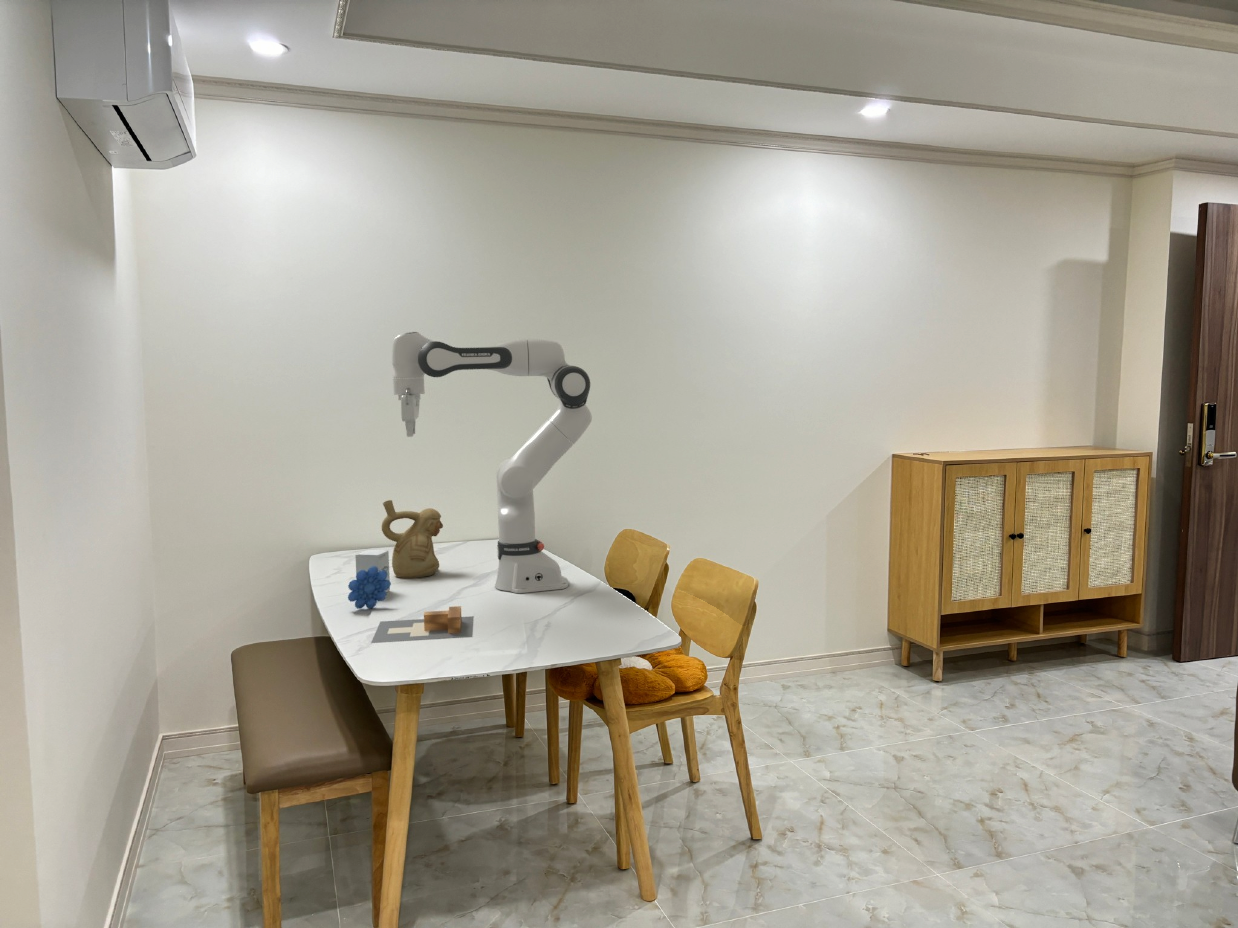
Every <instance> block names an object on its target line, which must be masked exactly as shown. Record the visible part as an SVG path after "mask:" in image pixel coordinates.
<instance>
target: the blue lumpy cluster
mask: <svg viewBox="0 0 1238 928" xmlns="http://www.w3.org/2000/svg"><path fill="white" fill-rule="evenodd" d="M387 575H388V574H387V572H386V571H385V570H381V571H379V572H378V568H377V567H376V566H372V567H370V568H369V569H368V571H367V572H366V571H365V570H360V571H359V572H357V574H356V573H355V579H352V580H351V581H350V582H349V583H348V590H350V592H349V593H348V595H347V599H348V601H350V602H353V603H354V607H355V608H356V609H358V610H359V609H363V608H364V607H366V608H367V609H373V608H375V607H376V606H377V603H378V602H383V601H384V600H386V598H387V592H385V591H384V590H387V589H389V588H390V589H391V585H392V583H391V581H389V580H385V579H386V578H387ZM356 579H357V580H356Z"/></svg>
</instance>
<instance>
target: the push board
mask: <svg viewBox="0 0 1238 928" xmlns="http://www.w3.org/2000/svg"><path fill="white" fill-rule="evenodd" d="M461 618H462V622H461V632H460V633H448V629H444V630H427V631H424V618H420V619H419V618H418V619H400V620H399V619H398V620H384V621H383V620H382V621H379V624H378V626H377V628H376V630H375V633H374V636H373V638H372V640H371V641H370V642H371V644H377V643H378V644H379V643H395V642H411V641H414V642H415V641H428V640H430V641H431V640H442V639H443V640H445V639H459V638H460V639H461V638H462V639H463V638H473V635H474V634H473V633H474V615H471V616H461Z"/></svg>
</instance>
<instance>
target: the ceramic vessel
mask: <svg viewBox="0 0 1238 928" xmlns="http://www.w3.org/2000/svg"><path fill="white" fill-rule="evenodd" d="M382 505H383V507H384V510H385V512H386V516H385V517H384V519H383V520H382V523H381V531H382V534H383V535H384V536H385V538H386V539H388V540H389V541H392V542H395V545H394V548H393V551H392V557H391V558H392V559H391V565H392V572H393V573H394V575H395V577H398V578H400V579H418V578H419V579H420V578H425V577H430V576H433V575H435V574H436V572H437V571H438V570H439V568H440V561H439V560H438V559H439V558H438V557H437V556H436V554H435V550H434V543H433V542H434V541H433V537H437V536H438V535H439V533H440V531H441V530H440V529H443V527H444V525H443V523H442V521H441V518H442V515H441V513H440V512H439V511H438V510H437V509H434V508H424V509H422V510H421V511H419V512H417V511H413V510H401V511H396V510H395V506H394V503H393V500H392V499H388V500H385V501H384V502H382ZM400 519H402V520H403V519H408V520H411V521H414V522H413V523H412V524H411V526H409V527H408V528H407V529H406V530H405V531H404V532H402V533H400V532H395V531H393V530H392V529H391V524H392V523H393V522H394V521H397V520H400Z"/></svg>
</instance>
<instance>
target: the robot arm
mask: <svg viewBox="0 0 1238 928" xmlns="http://www.w3.org/2000/svg"><path fill="white" fill-rule="evenodd" d="M391 363H392V368H393V374H392V382H393V383H392V384H393V386H392V387H393V388H392V389H393V395H397V397H398V401H400V414H401V415H400V416H401V421H402V422H404V423H405V430H406V431H405V432H406V437H407V438H412V437H413V436H414V435H415V434H416V422H417V421H416V420H417V419H418V418H419V415H420V402H421V401H420V400H421V395H424V394H425V392H426V391H425V375H426V376H429V377H431V378H442V377H445V376H446V375H448V374H451V373H453V372H456V371H463V370H465V371H466V370H467V371H468V370H470V371H471V370H488V371H493V372H498V373H501V374H504V375H508V376H515V377H544V378H546V379H547V382H548V385H549V388H550V391H551V392H552V394H553V395H554V396H555V397H556V398H557V399H559V400H558V401H559V402H558V406H557V408H556V410H555V411H554V412H553V413H552V414H551V415H550V416H549V417H548V418H547V419H546V420H545V421H544V422H543V423H542V424H541V425H540V426H539V428H537V429H536V430H535V431H534V432H533V433H532V434H531V435H530V436H529V437H528V438H527V440H526V441H525V443H524V444H523V445H521V447H520V448H519V449H518V450H517V451H516V453H514V455H513V456H512V457H509V458H507V459H505V460H503V461H501V463H500V464H499V466H498V468H497V471H496V489H497V491H496V493H497V494H496V496H497V519H498V523H497V525H498V540H497V547H496V549H497V551H496V553H497V558H498V567H497V575H496V576H497V577H496V580H495V584H494V588H495V589H498V590H500V591H505V592H512V593H515V594H524V593H534V592H535V593H536V592H543V591H545V592H546V591H554V590H563V589H567V588H568V587H569V583H570V582H569V579H568V578H567V577H566V576H563V574H562V571H561V567H560V564H559V562H557V561H556V560H555V559H553V558H552V557H550V556H549V555H548V554H546V553H545V552H544V551H543V550H544V549H545V544H544V543H543V542H542V541H541V540H538V539H536V519H535V518H536V516H535V514H536V512H535V503H534V502H535V500H534V488H536V486H537V485H538V484H539V483H540V482H541V481H542V480H543V479H544V477H545V476H546V475H547V474H548V473H549V471H550V470H551V469H552V468H553V466H554V465H555V464H556V463H557V462H558V461H559V460H560V459H561V458H562V457H563V456H564V455H565V454H566V453H567V452H568V451H569V450H570V449H571V448H572V447H573V446H574V445H575V444H576V443H577V442H578V440H580V438H581V437H582V435H584V433H585V432H586V430H587V429H588V428H589V426H590V424H591V423H592V418H593V416H592V412H591V410H590V408H589V407H588V406H587V405H586V404H587V401H588V397H589V393H590V390H591V379H590V377H589V374H588V373H587V372H586V370H584V369H583V368H581V367H579V366H575V365H570V364H568V363H567V362H566V358H565V351H564V349H563V347H562V345H561V344H560V343H558V342H557V341H553V340H548V339H547V340H546V339H540V338H539V339H538V338H527V339H526V338H522V339H520V338H519V339H513V340H507V341H504V342H500V343H496V344H495V345H490V346H486V347H485V346H484V347H456V346H452V345H450V344H447V343H444V342H443V341H436V340H435V341H434V340H431V339H430V338H427V337H426V336H424V335H422V334H421V333H420V332H417V331H409V332H404V333H400V334H398V335H396V336H395V337H394V338H393V340H392V345H391Z"/></svg>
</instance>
